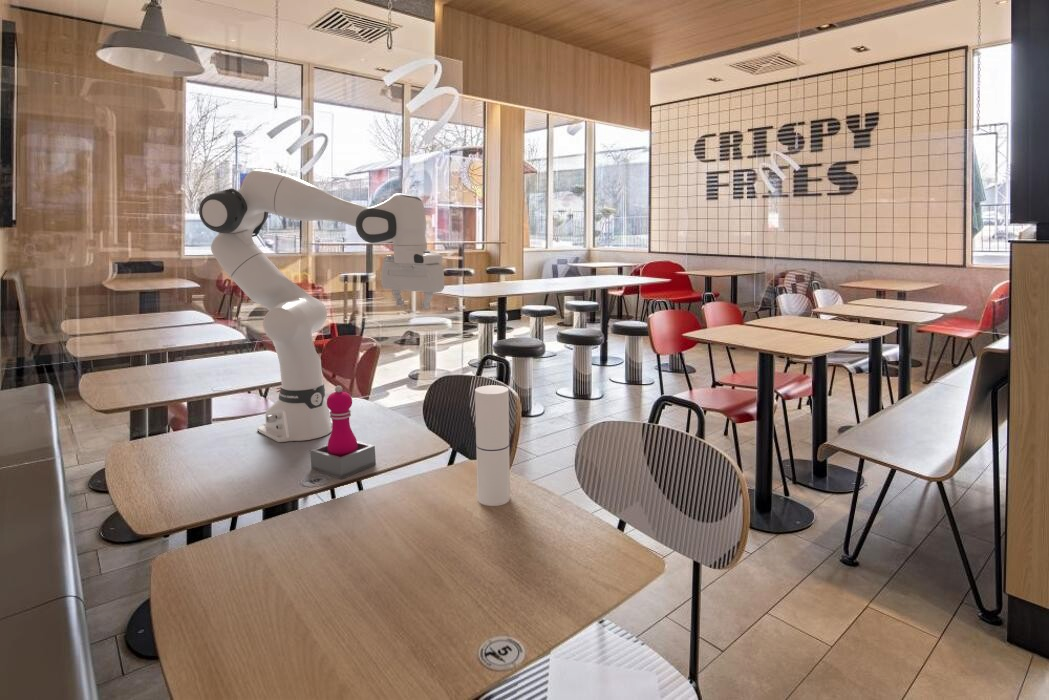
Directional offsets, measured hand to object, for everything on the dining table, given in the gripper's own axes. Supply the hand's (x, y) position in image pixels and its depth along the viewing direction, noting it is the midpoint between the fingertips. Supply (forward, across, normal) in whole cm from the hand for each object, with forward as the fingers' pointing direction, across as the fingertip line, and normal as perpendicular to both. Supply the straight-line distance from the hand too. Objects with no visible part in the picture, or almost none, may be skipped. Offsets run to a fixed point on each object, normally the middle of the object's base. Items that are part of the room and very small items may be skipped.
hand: (412, 307), depth 173 cm
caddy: (+37, -1, -26) cm, 46 cm away
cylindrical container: (+37, +42, -21) cm, 60 cm away
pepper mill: (+36, -1, -26) cm, 45 cm away
